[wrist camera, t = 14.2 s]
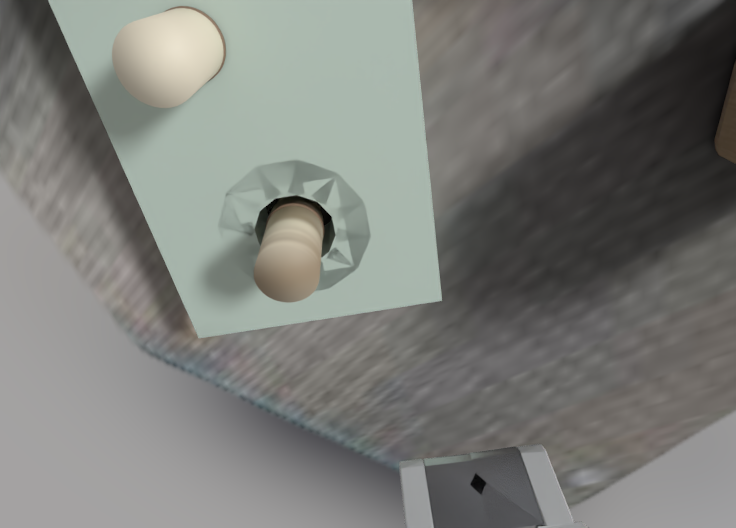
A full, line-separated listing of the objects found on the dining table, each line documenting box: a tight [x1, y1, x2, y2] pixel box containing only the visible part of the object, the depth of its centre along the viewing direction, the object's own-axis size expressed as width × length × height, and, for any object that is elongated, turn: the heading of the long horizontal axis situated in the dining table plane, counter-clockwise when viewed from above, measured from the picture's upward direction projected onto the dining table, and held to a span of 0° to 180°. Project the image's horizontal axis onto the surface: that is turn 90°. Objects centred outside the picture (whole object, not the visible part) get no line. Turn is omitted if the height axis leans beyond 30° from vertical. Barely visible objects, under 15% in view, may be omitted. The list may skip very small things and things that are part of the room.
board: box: [48, 0, 442, 338], centre depth 26 cm, size 22×16×9 cm
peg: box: [254, 195, 324, 303], centre depth 28 cm, size 3×3×9 cm
